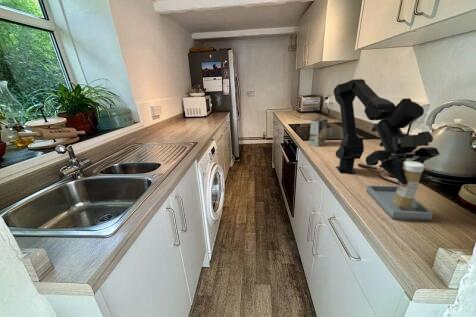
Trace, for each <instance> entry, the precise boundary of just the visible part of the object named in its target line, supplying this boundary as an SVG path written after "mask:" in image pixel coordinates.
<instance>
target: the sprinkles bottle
mask: <svg viewBox="0 0 476 317" xmlns="http://www.w3.org/2000/svg"><path fill="white" fill-rule="evenodd" d="M401 167H402V170H403V172H404V175H405V177H406V180H407V184H405V185H403V184H402V183H401V182H400V181H398V184H397V186H398V187H397V190H396V195H395V199H394V200H393V201H394V203H395V204H396V205H398V206H401V207H407V208H409V207H412V202H413V199H415V197H416V193H417V190H418V188H419V187H418V186H419V185H420V183H419V180H420V177H421V173H422V172H423V171H424V169H425V164H424V163H423V164H422V163H420V162H416V161H406V160H405V161H403V163H402V166H401ZM423 173H424V172H423Z"/></svg>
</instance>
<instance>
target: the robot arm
mask: <svg viewBox="0 0 476 317" xmlns="http://www.w3.org/2000/svg"><path fill="white" fill-rule="evenodd" d="M333 95H334V100H335V101H336V103H337V104H338V105H339V107H340V108H339V109H340V115H341V116H340V118H341V126H342V135H343V137H342V140H341V141H340V144H339V148H338V149H337V150H335V157H337V158H338V159H339V165H337V166H335V168H336V169H337V170H338V171H339V173H340V174H357V171H356V170H355V169H354V165H355V160H359V159H361V158H362V155H363V153H364V151H365V149H364V148H365V144H364V139H363V137H359V136H358V135H357V134H358V133H357V127H356V118H355V110H354V103H353V102H354V101H355V99H356V98H358V100H359V101H360V102H361V103H362V105H363V106H364V114H365V116H366V117H367V119H368V120H369V121H378V122H376V123H374V124H373V127H372V128H371V132H374V133H375V132H377V133H378V136H379V138H380V143H379V147H383V148H384V149H383V150H382V149H381V150H379V149H378V150H374V151H373V152H371V153H370V154H368V155H367V156H366V157H365V163H366V166H367V167H371V166H377V165H378V164H379V161H380V164H379V165H378V167H379V168H381V169H383V170H385V171H386V172H388V173H389V175H391V176H392V177H394V178H395V179H396V180H397V181H398V182H399V181H400V182H401V183H402V184H403V185H405V184H407V180H406V177H405V175H404V172H403V170H402V166H401V164H402V160H405V161H416V162H420V163H422V164H424V163H425V162H426V161H428V160H430V159H432V158H435V157H438V156H439V155H440V151H438V148H436V147H434V146H430V143H432V142H433V141H434V138H433V135H432V134H431V132H430V131H428V130H427V131H421V132H418V133H417V134H411V135H409V134H408V133H403V131H402V129H405V128H406V127H408V126H410V125H411V124H412V123H414V122H415V121H416V120H418V119H420V118H421V117H422V116H423V115H424V113H425V109H424V107H423V106H421V105H420V104H419V103H417V102H415V101H413V100H412V99H411V97H410V98H409V97H408V98H401V100H400V101H399V103H397V104H396V105H395V103H394V102H392V101H390V100H389V99H386V98H383V97H380V96H379V95H378V94H377V93H376V92H375V91H374V90H373V89H372V88H371V87H370V86H369V85H368V84H367V83H366V81H365V79H362V78H357V79H355V78H354V79H353V78H352V79H350V80H348V81H347V82H344V83H341V84H340V83H339V84H337V85H336V86H335V87H334V89H333ZM422 146H423V147H422ZM424 146H425V147H424ZM418 147H420V148H418ZM414 150H415V151H414ZM423 173H424V172H422V173H421V177H420V180H419V184H423V182H424V177H423V176H424V175H423Z"/></svg>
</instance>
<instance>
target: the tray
mask: <svg viewBox="0 0 476 317" xmlns="http://www.w3.org/2000/svg"><path fill="white" fill-rule="evenodd" d="M397 187H398V185H366V190H365V192H366V193H367V194H368V196H370V197H371V199H372V200H374V202H375V203H376V204H377V205H378V206H379V208H380V209H381V210H383V211H384V212H385V213H386V215H387V216H388V217H389V218H390V219H391V220H403V221H406V220H407V221H421V222H422V221H426V222H431V220H432V218H433V216H434V213H433V212H432V211H430V210H429V209H428V208H426V206H424V205H423V204H421V203H420V202H419V201H417V200H416V199H415V198H414V199H413V202H412V207H409V208H407V207H401V206H398V205H396V204H395V203H394V201H393V200H394V199H395V195H396V190H397Z"/></svg>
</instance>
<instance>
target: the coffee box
mask: <svg viewBox="0 0 476 317" xmlns="http://www.w3.org/2000/svg"><path fill="white" fill-rule="evenodd" d="M327 127H328V119H325V118H316V119H311V120H310V130H309V141H308V145H310V146H313V147H320V146H322V145H324V144H325V143H326V136H327V129H328V128H327Z"/></svg>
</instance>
